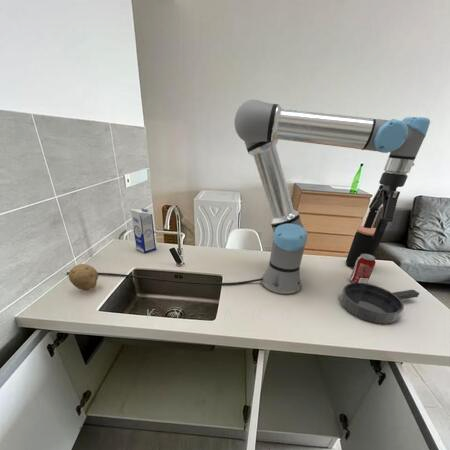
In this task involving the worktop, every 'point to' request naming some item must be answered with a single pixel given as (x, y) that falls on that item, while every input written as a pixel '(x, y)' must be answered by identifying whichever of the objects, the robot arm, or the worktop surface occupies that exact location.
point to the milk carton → (143, 230)
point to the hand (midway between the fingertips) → (371, 233)
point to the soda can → (363, 268)
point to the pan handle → (404, 294)
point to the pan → (371, 303)
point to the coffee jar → (362, 245)
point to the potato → (83, 277)
